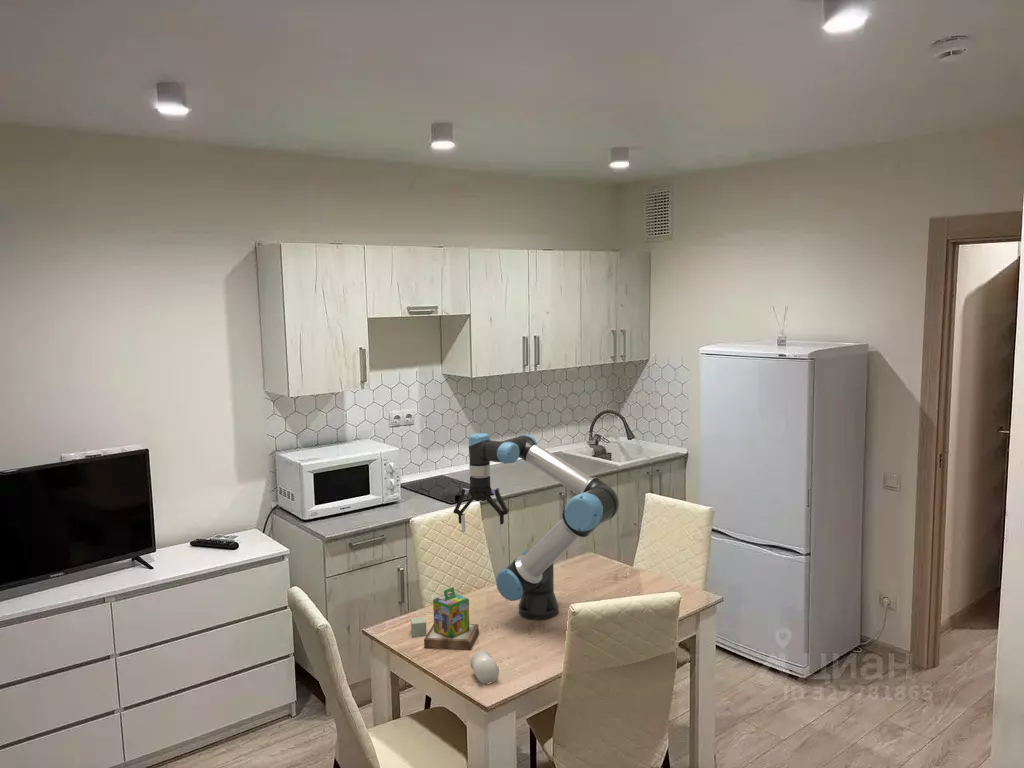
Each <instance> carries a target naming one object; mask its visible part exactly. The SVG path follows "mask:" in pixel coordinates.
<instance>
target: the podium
mask: <svg viewBox="0 0 1024 768" xmlns="http://www.w3.org/2000/svg"><path fill="white" fill-rule="evenodd" d="M479 631H480V629H479V624H478V623H469V631H466V632H464V633H462V634H459V635H457V636H455V637H453V638H450V637H447V636H445V635H442V634H439V633H437V632H434V623H433V624H432V626H431V627H430V629H429V631H428V632H427V635H426V636H424V639H423V647H424V649H439V650H440V649H441V650H442V649H443V650H461V651H471V650H472V649H473V646H474V644H475V641H476V639H477V638H478V635H479V634H480V632H479Z"/></svg>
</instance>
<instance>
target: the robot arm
mask: <svg viewBox="0 0 1024 768" xmlns="http://www.w3.org/2000/svg"><path fill="white" fill-rule="evenodd" d="M467 447H468V455H469V463H468V464H469V468H468V469H469V475H470V476H469V488H466V487H463V488H462V489H461V491H460V492H461V493H460V494H461V495H460V497H459V499H458V501H457V502H456V504H455V508H454V510H453V514H456V515H457V516H458V524H460V526H461V534H464V533H465V532H466V513H464V512H465V510H466V509H468V507H469V506H470V505H471V503H472V502H473V501H475V502H487V503H488V504H489V505H490V506H491V507H492V508H493V509H494V510H495V512H496V513H497V514H498V515H497V534H498V535H500V534H501V533H502V525H504V522H505V515H508V513H509V512H510V510H509V509H508V506H507V505H506V503H505V501H504V499H503V498H502V496H501V493H500V488H498V487H497V488H493V489H492V488H491V486H492V485H491V476H490V475H491V464H490V463H491V462H494V463H500V464H501V463H502V464H505V465H506V464H515V463H517V462H516V461H517V460H518V459H519V458H520V459H522V461H525V462H527V463H528V464H530V465H531V466H533V467H535V468H536V469H538V470H539V471H541V472H542V473H544V474H545V475H547V476H549V477H550V478H551V479H553V480H554V481H556V482H558V483H560V484H561V485H563V486H564V487H566V488H567V489H569V490H570V491H572V492H573V493H575V494H576V495H574V496H573V497H571V499H569V500H568V502H567V503H566V504H565V508H564V510H562V512H561V519H560V520H559V521H558V522H556V524H555V525H554V526H553V527H552V528H551V529H550V530H549V531H548V532H547V533H546V534H545V535H544V536H543V537H542V538H541V539H540V540H539V541H538V542H537V543H536V544H535V545H534V546H533V547H532V548H531V549H529V550H525V551H522V553H521V554H520V555H518V556H516V558H515V559H514V560H513V561H512V562H511V563H509V565H507V567H504V568H501V570H500V571H499V572H497V574H496V577H495V582H496V589H497V591H498V592H499V594H500V595H501V596H502V597H503V598H504V599H505V600H507V601H511V602H515V601H518V600H519V603H518V614H519V616H521V617H523V618H525V619H529V620H534V621H535V620H536V621H540V620H547V619H548V620H549V619H552V618H554V617H556V616H557V615H558V614H559V611H560V609H559V607H560V606H559V603H558V600H557V596H556V593H555V591H554V590H555V589H554V588H555V587H554V582H555V581H554V578H555V577H554V563H555V561H557V559H559V558H560V557H561V556H562V555H563V554H564V553H565V552H566V551H567V550H568V549H569V548H570V547H571V546H572V545H573V544H574V543H575V542H577V541H578V539H579V538H587V537H588V536H589V535H590V534H591V533H593V531H594V530H596V528H598V527H599V526H600V525H601V524H603V523H605V522H607V521H610V520H611V519H613V518H614V517H615V516H616V514H617V513H618V510H619V505H620V500H619V497H618V494H617V493H616V491H615V490H614V489H613V488H612V487H611V486H610V485H609V484H607V483H606V482H604V481H603V480H601V479H599V478H598V477H596V476H595V477H591V476H589V475H588V474H587V473H584V472H582V471H581V470H580V469H578V468H577V467H575V466H573V465H571V464H570V463H568V462H566V461H565V460H563V459H561V458H560V457H558V456H556V455H555V454H553V453H552V452H550V451H549V450H547V449H545V448H543V447H542V446H540V445H539V444H538V442H537V440H536V439H535V437H534V436H533V435H530V434H522V435H520V436H516V437H512V438H508V439H505V440H491V439H490V435H489V434H488V433H484V432H483V433H482V432H480V433H473V434H470V435H469V436H468V446H467ZM468 494H469V495H470V496H471V497H470V498H469V499H468V501H467V502H466V503H465V505H463V507H462V508H461V505H462V502H463V501H464V499H465V497H466V495H468ZM491 494H493V495H494V496H495V498H496V500H497V502H498V503H496V501H495V500H494V499H493V498H492V496H491ZM498 504H499V505H500V506H499V505H498ZM460 508H461V509H460Z"/></svg>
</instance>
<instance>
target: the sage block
mask: <svg viewBox="0 0 1024 768" xmlns="http://www.w3.org/2000/svg"><path fill="white" fill-rule="evenodd" d="M410 632H411V638H420V637H426V635H427V634H428V632H427V621H426V617H425V616H420V617H411V618H410Z"/></svg>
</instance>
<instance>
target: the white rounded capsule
mask: <svg viewBox="0 0 1024 768" xmlns="http://www.w3.org/2000/svg"><path fill="white" fill-rule="evenodd" d="M469 664H470V667H471V669H472V671H473V673H474V674H475V677H476V678H477V680H478V681H479V682H480V683H481V684H484V685H486V684H485V683H490V682H492V683H494V682H495V681H496V680H497V679H498V677H499V675H500V669H499V666H498V664H497V662H496V661H495V660H494V657H492V655H491V654H490V652H488V651H487V650H479V651H477V652H474V654H473V655H472V656H471V658H470V663H469ZM490 684H491V683H490Z"/></svg>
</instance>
